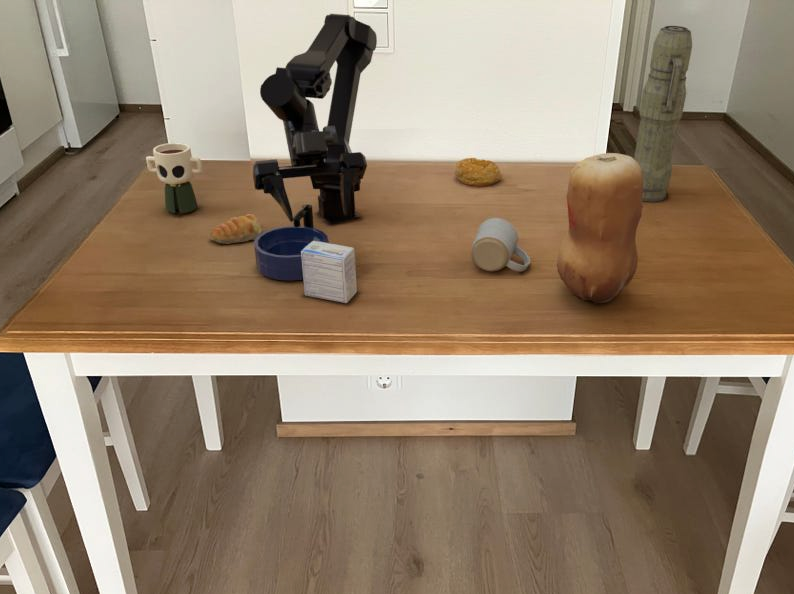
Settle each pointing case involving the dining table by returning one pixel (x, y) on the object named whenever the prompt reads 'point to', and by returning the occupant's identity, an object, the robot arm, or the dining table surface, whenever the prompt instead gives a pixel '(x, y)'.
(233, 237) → the pastry
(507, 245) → the ceramic mug
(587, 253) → the butternut squash
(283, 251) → the basin
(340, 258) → the medicine box
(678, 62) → the thermos
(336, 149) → the robot arm
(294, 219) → the tap
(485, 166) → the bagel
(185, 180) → the character mug
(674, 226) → the dining table surface
